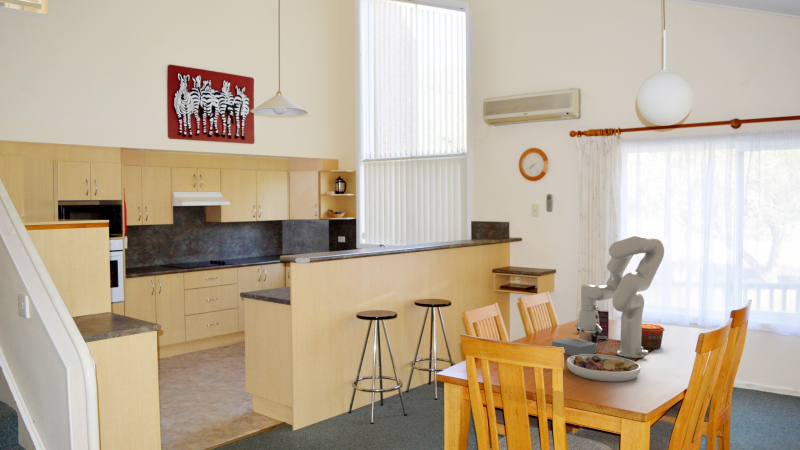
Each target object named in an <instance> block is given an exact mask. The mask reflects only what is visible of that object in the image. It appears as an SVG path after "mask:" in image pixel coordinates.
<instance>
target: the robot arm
mask: <svg viewBox="0 0 800 450" xmlns="http://www.w3.org/2000/svg"><path fill="white" fill-rule="evenodd" d="M608 254H609V256H610V258H609V261H608V263H607V265H606V269H607V270H608V272H609V278H608V279H607V281H606V282H605V284H601V285H594V284H590V283H589V284H587V283H586V284H582V285H581V287H580V310H579V313H578V320H577V321H578V322H577V323H575V324H574V327H575V329H576V330H577V332H578V333H579V332H582V331H585V330H590V331H592V333H593V336H592V343H597V344H598V340H597V336H598V335H599V334H600V332H601V331H602V330H603V329H602V328H601V327H600V326H599V316H598V311H596V310H599V307H598V306H597V301H606V300H610V299H612V301H611V302H612V306H613V308H614V309H615V310H616V311H617V312H621V315H620V316H621V317H620V346H619V347H620V349H618V350H617V351H616V355H618V356H619V357H623V356H624V357H623V358H631V359H638V358H639V359H641V358H644V357H645V356H648V355H649V350H646V349H645V348H643V347H641V334H642V324H643V312H644V307H645V298H644V296H643V294H642V293H640V292H645V291H647V290H649V288H650V286H651V284H652V282H653V280H654V278H655V276H656V274H657V271H658V269H659V267H660V266H661V264H662V262H663V259H664V256H665V247H664V244H663V242H662V240H661V239H660V238H658V237H657V236H654V235H650V234H648V235H647V234H645V235H644V234H642V235H639V234H638V235H635V236H630V237H627V238H625V239H624V238H623V239H621V240H617V241H615V242H613V243H611V244H610V246H609V249H608ZM638 254H644V255H643V257H642V258H641V259H640V261H639V263H638V264H637V265H638V266H637V267H636V268H635V271H633V272H628V273H626V274H625V275H624V276H623V274H624V272H625V270H626V269H627V267H628V266H629V263H630V262H631V260H632V259H633V257H634V256H635V255H638ZM597 330H598V331H597Z"/></svg>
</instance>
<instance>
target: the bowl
mask: <svg viewBox="0 0 800 450" xmlns="http://www.w3.org/2000/svg"><path fill="white" fill-rule="evenodd" d="M566 365H567V368H568V369H569V371H570V372H571V373H573V374H574V375H576V376H578V377H581V378H584V379H588V380H591V381H593V380H594V381H599V382H609V383H610V382H611V383H618V382H619V383H621V382H627V381H631V380H634V379H636V378H637V377H638V376H639V375H640V373H641V364H639V363H638V362H636V361H635V360H631V359H627V358H626V357H622V356H614V355H608V354H598V353H596V354H583V355H575V356H571V355H570V356H569V357H567V359H566Z"/></svg>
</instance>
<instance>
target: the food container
mask: <svg viewBox="0 0 800 450" xmlns="http://www.w3.org/2000/svg"><path fill="white" fill-rule="evenodd" d="M664 331H665V328H664V327H663V326H661V325H658V324H653V323H642V334H641V347H643V349H647V348H649V350H656V349H660V348H662V341H663V334H664Z"/></svg>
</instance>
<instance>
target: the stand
mask: <svg viewBox="0 0 800 450" xmlns="http://www.w3.org/2000/svg"><path fill="white" fill-rule="evenodd" d="M552 346H556V347H564V349H565V354H564V355H567V356H570V357H571V356H575V355H583V354H593V353H596V354H597V346H596V343H592V342H587V341H582V340H579V339H576V338H572V337H566V338H560V339H557V340H552V341H551V347H552Z"/></svg>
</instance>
